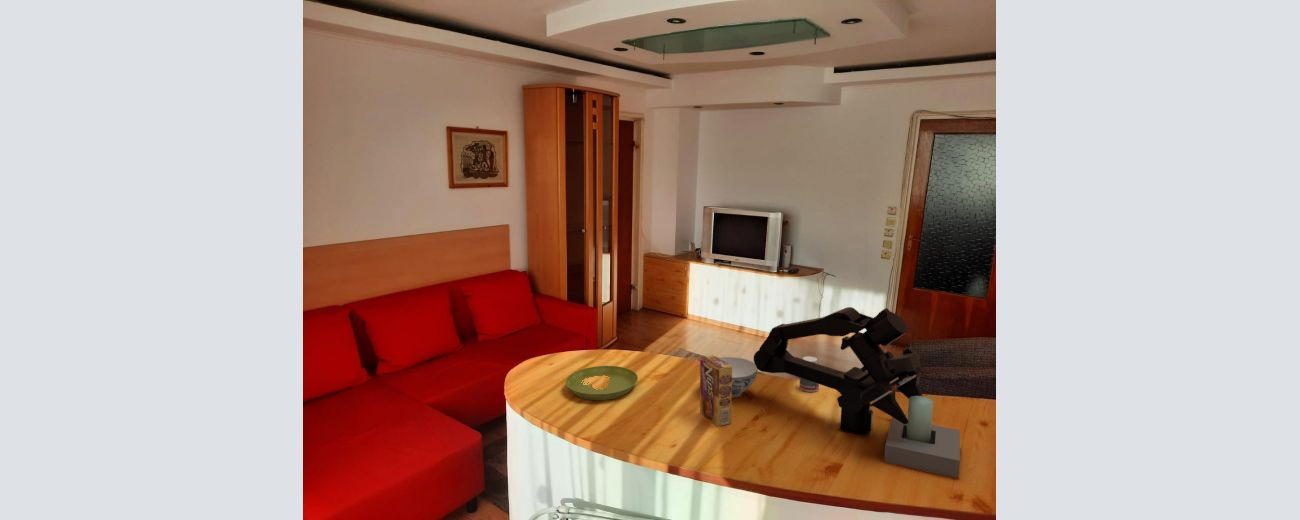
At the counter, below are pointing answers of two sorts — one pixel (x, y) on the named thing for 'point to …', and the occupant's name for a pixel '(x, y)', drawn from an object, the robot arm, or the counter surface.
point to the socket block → (924, 450)
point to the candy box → (715, 390)
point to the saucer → (618, 386)
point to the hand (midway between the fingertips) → (916, 416)
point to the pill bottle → (806, 384)
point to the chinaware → (741, 374)
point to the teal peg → (919, 419)
